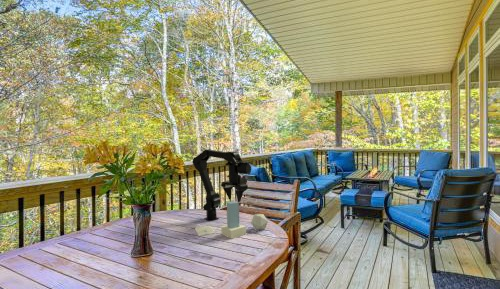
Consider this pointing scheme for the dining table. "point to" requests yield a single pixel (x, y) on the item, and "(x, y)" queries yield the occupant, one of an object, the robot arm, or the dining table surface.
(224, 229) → the base brick
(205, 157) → the robot arm
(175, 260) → the dining table surface
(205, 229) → the plate
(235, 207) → the blue brick
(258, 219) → the die
